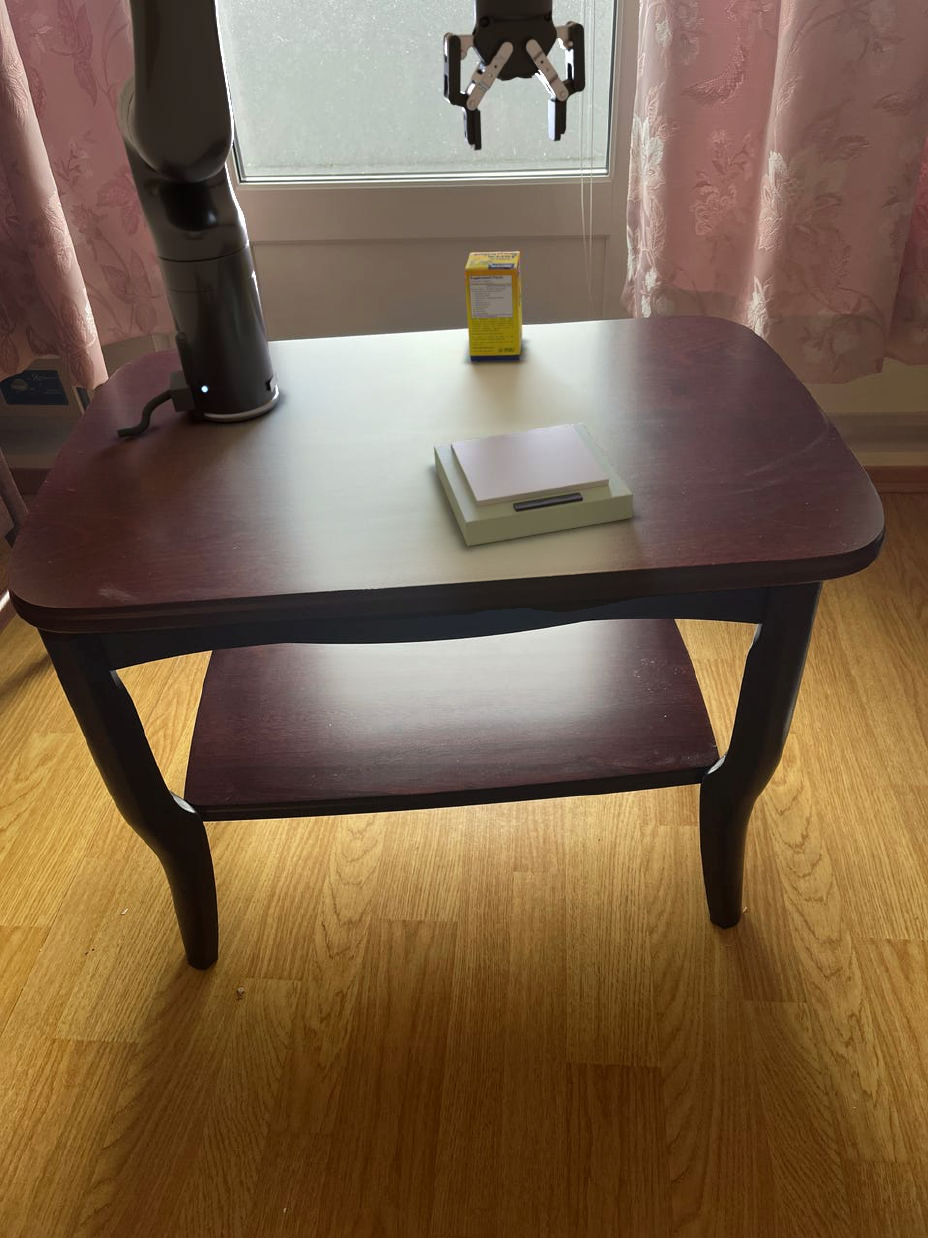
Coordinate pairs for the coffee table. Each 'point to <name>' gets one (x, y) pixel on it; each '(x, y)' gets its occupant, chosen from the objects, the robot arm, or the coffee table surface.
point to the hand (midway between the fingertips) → (515, 144)
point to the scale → (530, 483)
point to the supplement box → (494, 306)
